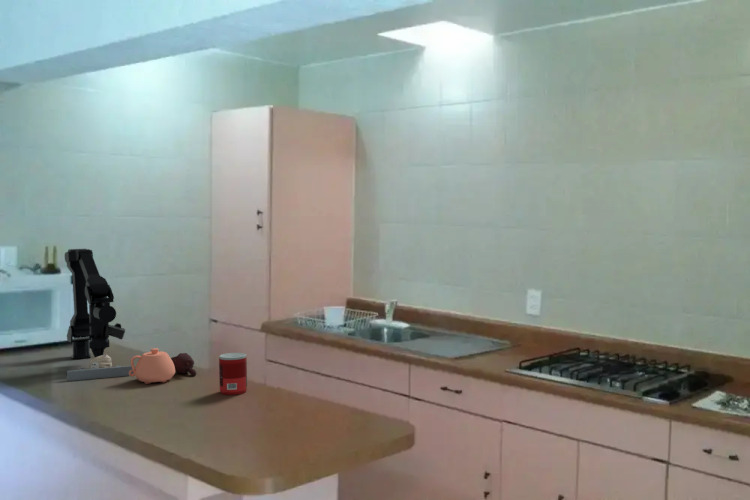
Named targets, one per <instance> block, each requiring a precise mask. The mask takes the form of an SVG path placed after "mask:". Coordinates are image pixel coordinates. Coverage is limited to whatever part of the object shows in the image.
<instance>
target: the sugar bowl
mask: <svg viewBox="0 0 750 500" xmlns="http://www.w3.org/2000/svg"><path fill="white" fill-rule="evenodd" d="M171 358H172V357H170V355H169V354H168V353H167V352H166V351H161V350H160V351H159V348H157V347H156V348H155V347H154V348H150V351H148V352H143V353H142V354H141V355H134V356H132V357H131V359H130V366H132V369H133V370H130V371H129V375H130V377H135V378H136V379H137V380H138V381H139V382H144V384H145V385H148V384H151V383H157V382H158V383H159V382H160V383H167V382H168V381H169V380H171V379H173V377H174V375H175V374H176V372H175V366H174V363H173V361H172V360H171ZM135 359H139V360H138V361H137V364H136V365H134V360H135ZM131 372H133V374H131Z"/></svg>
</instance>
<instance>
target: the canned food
mask: <svg viewBox="0 0 750 500" xmlns="http://www.w3.org/2000/svg"><path fill="white" fill-rule="evenodd" d="M247 362H248V359H247V354H246V353H245V352H244V353H243V352H228V353H222V354H219V355H218V367H219V368H218V372H219V392H220V394H221V395H224V396H236V395H242V394H244V393H246V392H247V390H248V367H247V366H248V363H247Z"/></svg>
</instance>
